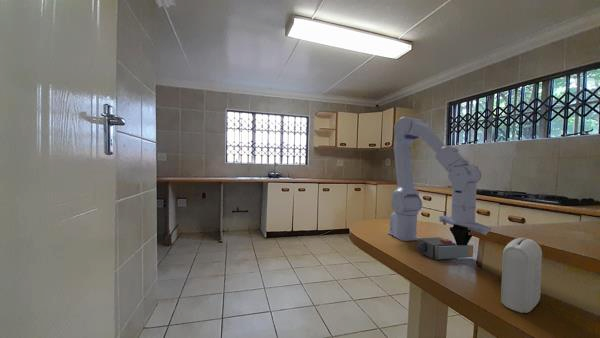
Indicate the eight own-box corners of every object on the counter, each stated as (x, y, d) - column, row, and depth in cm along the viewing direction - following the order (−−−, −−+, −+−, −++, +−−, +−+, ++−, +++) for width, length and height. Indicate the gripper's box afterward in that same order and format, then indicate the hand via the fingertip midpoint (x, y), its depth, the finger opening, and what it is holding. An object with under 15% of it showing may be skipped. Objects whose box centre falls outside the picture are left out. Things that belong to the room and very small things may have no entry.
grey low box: (414, 251, 70) (414, 236, 70) (438, 249, 72) (439, 235, 72) (429, 259, 64) (430, 243, 64) (455, 257, 66) (456, 241, 66)
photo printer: (514, 290, 49) (516, 232, 49) (543, 300, 45) (545, 238, 45) (497, 304, 43) (499, 239, 43) (528, 317, 40) (531, 246, 39)
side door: (434, 258, 64) (434, 245, 64) (470, 256, 67) (470, 243, 67) (436, 260, 63) (437, 246, 63) (473, 257, 66) (473, 244, 66)
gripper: (432, 202, 73) (430, 244, 73) (476, 211, 59) (474, 263, 59) (450, 202, 74) (448, 243, 74) (498, 210, 60) (496, 261, 60)
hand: (461, 252), depth 67 cm, fingers closed
